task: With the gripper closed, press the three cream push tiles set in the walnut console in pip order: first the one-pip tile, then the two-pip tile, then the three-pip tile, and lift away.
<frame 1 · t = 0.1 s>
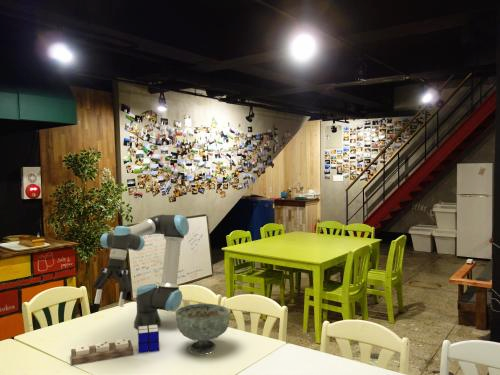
hand: (108, 305, 197), 28 cm above the table, tool tilted 20°, fingers open, 13 cm apart
tile three: (102, 347, 208), point 4 cm above the table, slide at 0.0 cm
tile one: (82, 350, 205), point 4 cm above the table, slide at 0.0 cm
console: (102, 355, 208), on the table
decorative bowl: (203, 349, 215), on the table
puzzle cube: (148, 348, 216), on the table
tile two: (121, 344, 212), point 4 cm above the table, slide at 0.0 cm
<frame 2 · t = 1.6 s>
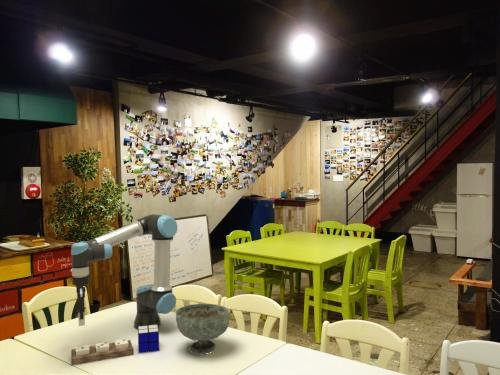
hand: (81, 324, 204), 16 cm above the table, tool pointing down, fingers open, 2 cm apart
nothing on the table moved.
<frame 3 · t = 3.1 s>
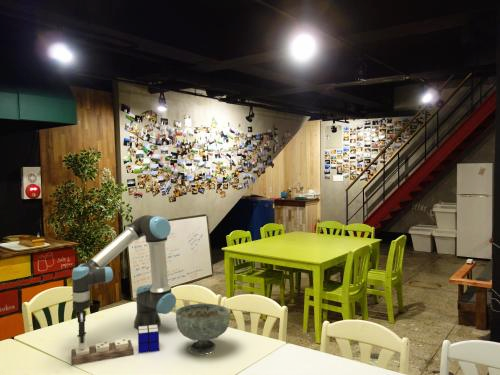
hand: (82, 348, 204), 5 cm above the table, tool pointing down, fingers closed
tile one: (82, 352, 205), point 3 cm above the table, slide at 0.7 cm, touching gripper
everything else where it was.
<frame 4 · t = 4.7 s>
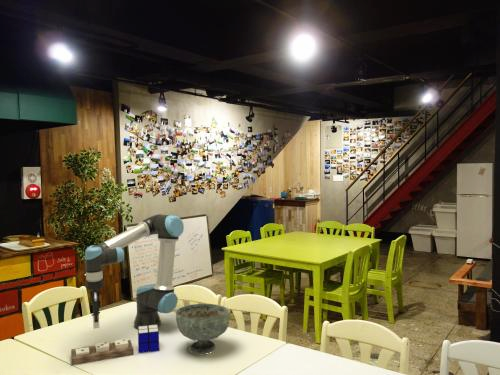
hand: (96, 327, 207), 14 cm above the table, tool pointing down, fingers closed
tile one: (82, 353, 205), point 3 cm above the table, slide at 1.1 cm
everything else where it was.
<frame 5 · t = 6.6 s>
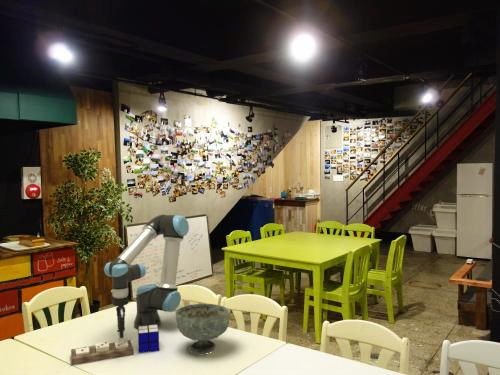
hand: (121, 343, 212), 4 cm above the table, tool pointing down, fingers closed
tile two: (121, 346, 212), point 3 cm above the table, slide at 1.0 cm, touching gripper
everything else where it was.
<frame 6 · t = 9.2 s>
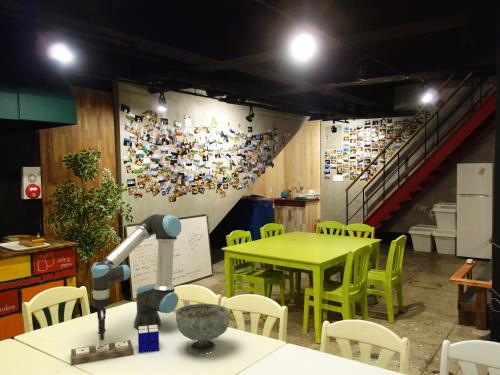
hand: (101, 345, 208), 5 cm above the table, tool pointing down, fingers closed
tile three: (102, 349, 208), point 3 cm above the table, slide at 0.7 cm
tile two: (121, 346, 212), point 3 cm above the table, slide at 1.0 cm
everything else where it was.
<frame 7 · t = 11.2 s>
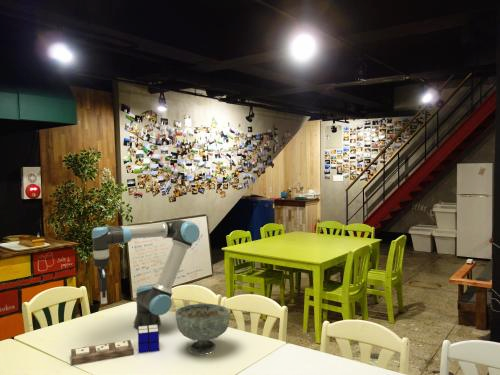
hand: (104, 303, 219), 22 cm above the table, tool pointing down, fingers closed
tile three: (102, 349, 208), point 3 cm above the table, slide at 1.1 cm
everything else where it was.
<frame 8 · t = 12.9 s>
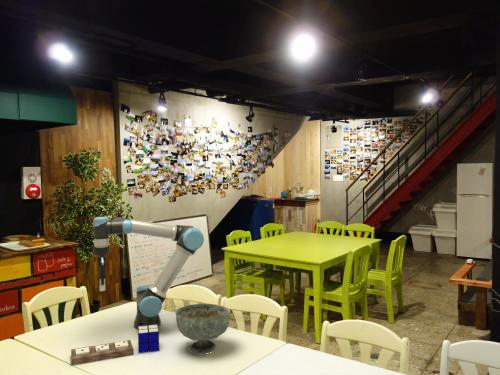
hand: (102, 290, 226), 26 cm above the table, tool pointing down, fingers closed
nothing on the table moved.
at the end: tile one slide at 1.1 cm; tile two slide at 1.0 cm; tile three slide at 1.1 cm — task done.
